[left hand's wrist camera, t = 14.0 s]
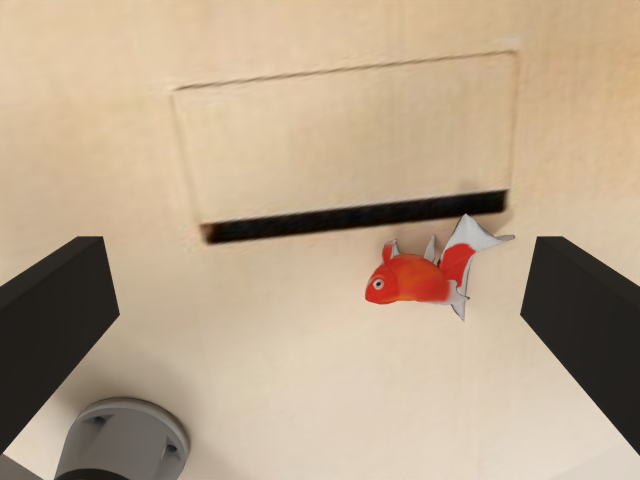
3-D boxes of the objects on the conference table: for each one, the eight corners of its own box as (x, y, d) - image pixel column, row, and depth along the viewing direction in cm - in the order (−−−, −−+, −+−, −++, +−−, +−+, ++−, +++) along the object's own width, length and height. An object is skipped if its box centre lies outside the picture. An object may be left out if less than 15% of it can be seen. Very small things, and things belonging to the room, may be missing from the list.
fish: (356, 200, 36) (419, 276, 30) (484, 177, 42) (561, 235, 36) (339, 282, 43) (388, 357, 37) (451, 252, 49) (511, 312, 43)
